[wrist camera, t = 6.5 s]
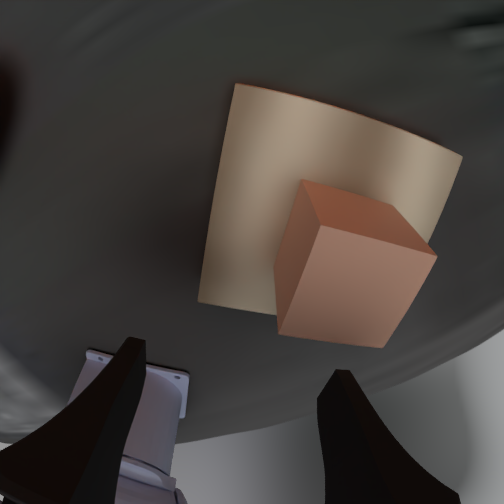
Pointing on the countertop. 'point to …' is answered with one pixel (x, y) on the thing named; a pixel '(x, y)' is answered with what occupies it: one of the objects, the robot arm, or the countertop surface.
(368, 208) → the cube
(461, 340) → the countertop surface
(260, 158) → the pedestal
